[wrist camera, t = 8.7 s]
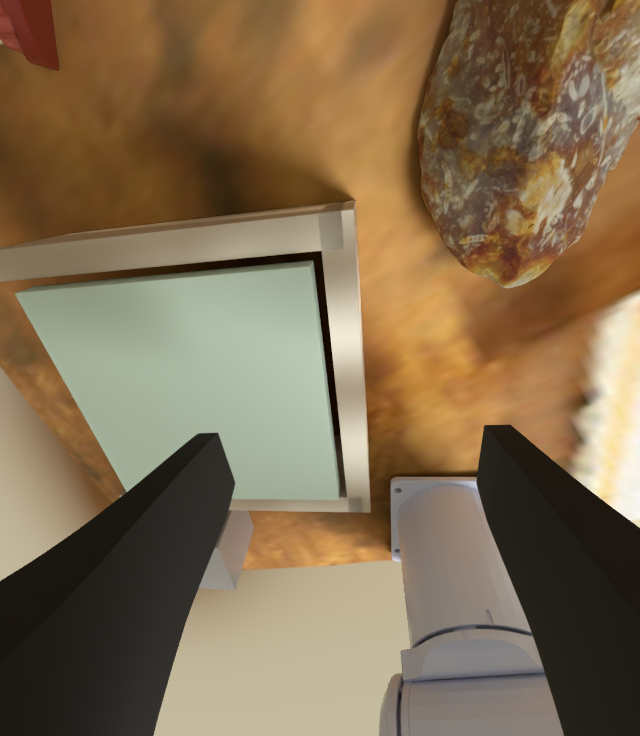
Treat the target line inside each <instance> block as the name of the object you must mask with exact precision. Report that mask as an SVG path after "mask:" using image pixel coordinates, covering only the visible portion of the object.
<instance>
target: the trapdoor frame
mask: <svg viewBox="0 0 640 736" xmlns="http://www.w3.org/2000/svg"><path fill="white" fill-rule="evenodd" d="M313 251H321V252H322V261H323V271H324V280H325V290H326V299H327V309H328V318H329V328H330V337H331V347H332V357H333V366H334V376H335V385H336V395H337V404H338V414H339V423H340V433H341V436H334V440H335V449H336V457H337V466H338V474H339V483H340V489H339V500H280V499H232V500H231V503H230V507H229V510H242V511H302V512H363V513H371V507H370V475H369V445H368V427H367V408H366V390H365V371H364V352H363V334H362V315H361V297H360V278H359V260H358V241H357V223H356V204H355V200H352V201H343V202H335V203H326V204H318V205H309V206H301V207H292V208H284V209H275V210H267V211H258V212H250V213H241V214H233V215H224V216H216V217H207V218H199V219H190V220H181V221H173V222H164V223H156V224H147V225H139V226H130V227H122V228H113V229H105V230H96V231H88V232H79V233H71V234H66V235H61V236H56V237H51V238H46V239H41V240H36V241H31V242H26V243H21V244H16V245H11V246H6V247H1V248H0V282H4V281H14V280H25V279H35V278H45V277H56V276H66V275H76V274H87V273H97V272H107V271H117V270H128V269H138V268H148V267H159V266H169V265H179V264H190V263H200V262H210V261H220V260H231V259H241V258H251V257H262V256H272V255H282V254H293V253H303V252H313ZM125 493H126V490H125V488H124V489H123V491H122V492H121V493H120V495H119V496H120V497H121V496H123V495H124V494H125Z"/></svg>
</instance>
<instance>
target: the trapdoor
mask: <svg viewBox="0 0 640 736" xmlns="http://www.w3.org/2000/svg"><path fill="white" fill-rule="evenodd" d="M14 294H15V295H16V297H17V299H18V301H19V302H20V304H21V306H22V308H23V309H24V311H25V313H26V315H27V317H28V318H29V320H30V322H31V324H32V325H33V327H34V329H35V331H36V332H37V334H38V336H39V338H40V340H41V341H42V343H43V345H44V347H45V348H46V350H47V352H48V354H49V355H50V357H51V359H52V361H53V363H54V364H55V366H56V368H57V370H58V371H59V373H60V375H61V377H62V379H63V380H64V382H65V384H66V386H67V387H68V389H69V391H70V393H71V394H72V396H73V398H74V400H75V402H76V403H77V405H78V407H79V409H80V410H81V412H82V414H83V416H84V417H85V419H86V421H87V423H88V425H89V426H90V428H91V430H92V432H93V433H94V435H95V437H96V439H97V440H98V442H99V444H100V446H101V448H102V449H103V451H104V453H105V455H106V456H107V458H108V460H109V462H110V463H111V465H112V467H113V469H114V471H115V472H116V474H117V476H118V478H119V479H120V481H121V483H122V485H123V486H124V488H125V490H126V492H128V491H129V490H130V489H131V488H133V487H134V486H135V485H136V484H138V483H139V482H140V481H141V480H142V479H144V478H145V477H146V476H147V475H148V474H150V473H151V472H152V471H153V470H154V469H156V468H157V467H158V466H159V465H160V464H161V463H163V462H164V461H165V460H166V459H167V458H169V457H170V456H171V455H172V454H173V453H174V452H176V451H177V450H178V449H179V448H180V447H182V446H183V445H184V444H185V443H187V442H188V441H189V440H190V439H191V438H193V437H194V436H195V435H197V434H198V433H218V434H219V437H220V440H221V442H222V445H223V448H224V451H225V454H226V457H227V460H228V463H229V466H230V469H231V471H232V474H233V477H234V480H235V487H234V491H233V495H232V499H280V500H339V489H340V483H339V474H338V466H337V457H336V449H335V440H334V432H333V423H332V415H331V406H330V398H329V389H328V381H327V372H326V364H325V355H324V347H323V338H322V330H321V321H320V313H319V304H318V296H317V287H316V279H315V270H314V262H313V260H311V261H300V262H289V263H278V264H268V265H257V266H246V267H236V268H225V269H214V270H203V271H193V272H182V273H171V274H161V275H150V276H139V277H128V278H118V279H107V280H96V281H85V282H75V283H64V284H53V285H43V286H34V287H31V288H28V289H26V290H23V291H20V292H17V293H14Z"/></svg>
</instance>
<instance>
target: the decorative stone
mask: <svg viewBox="0 0 640 736" xmlns="http://www.w3.org/2000/svg"><path fill="white" fill-rule="evenodd" d="M449 33H450V35H449V36H448V38H447V39H446V41H445V42H444V44H443V46H442V49H441V52H440V55H439V58H438V60H437V62H436V64H435V67H434V69H433V71H432V73H431V76H430V78H429V80H428V82H427V85H426V93H425V98H424V103H423V106H422V110H421V114H420V119H419V123H418V130H417V140H418V145H419V161H420V167H421V191H422V197H423V200H424V203H425V205H426V207H427V209H428V211H429V213H430V214H431V215H432V217H433V220H434V223H435V225H436V228H437V230H438V232H439V234H440V236H441V238H442V240H443V242H444V244H445V246H446V247H447V249H448V250H449V251H450V252H451V253H452V254H453V255H454V256H455V257H456V258H457V259H458V261H459V262H460V263H461V265H462V266H464V267H465V268H466V269H468V270H469V271H471V272H472V273H474V274H477V275H479V276H486V277H488V278H490V279H492V280H494V281H495V282H496V283H497V284H498V285H500V286H501V287H503V288H512V287H515V286H519V285H522V284H525V283H527V282H529V281H531V280H532V279H534V278H536V277H537V276H539V275H540V274H542V273H543V272H544V271H545V270H546V269H547V268H548V267H549V266H550V265H551V264H552V262H553V261H554V260H556V259H558V258H559V257H561V256H562V255H564V254H565V253H566V251H567V249H568V248H569V247H570V246H571V245H573V244H574V243H576V242H578V241H579V239H580V238H581V236H582V234H583V233H584V231H585V229H586V226H587V224H588V220H589V217H590V213H591V211H592V208H593V205H594V203H595V201H596V199H597V196H598V192H599V189H600V188H601V187H602V186H603V184H604V183H605V179H606V175H607V172H609V171H612V170H613V169H614V168H615V167H616V166H617V164H618V162H619V161H620V159H621V157H622V155H623V153H624V151H625V149H626V147H627V143H628V140H629V137H630V136H631V134H632V133H633V132H634V130H635V129H636V127H637V125H638V122H639V120H640V0H456V3H455V7H454V12H453V17H452V22H451V25H450V28H449Z"/></svg>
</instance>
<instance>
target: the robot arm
mask: <svg viewBox="0 0 640 736" xmlns="http://www.w3.org/2000/svg"><path fill="white" fill-rule="evenodd" d="M234 487H235V480H234V477H233V474H232V471H231V469H230V466H229V463H228V460H227V457H226V454H225V451H224V448H223V445H222V442H221V440H220V437H219V434H218V433H198V434H197V435H195V436H194V437H193V438H191V439H190V440H189V441H188V442H187V443H185V444H184V445H183V446H182V447H180V448H179V449H178V450H177V451H176V452H174V453H173V454H172V455H171V456H170V457H169V458H167V459H166V460H165V461H164V462H163V463H161V464H160V465H159V466H158V467H157V468H156V469H154V470H153V471H152V472H151V473H150V474H148V475H147V476H146V477H145V478H144V479H142V480H141V481H140V482H139V483H138V484H136V485H135V486H134V487H133V488H131V489H130V490H129V491H128V492H126V493H125V494H124V495H123V496H121V497H120V498H119V499H117V500H116V501H115V502H114V503H112V504H111V505H110V506H109V507H107V508H106V509H105V510H104V511H102V512H101V513H100V514H98V515H97V516H96V517H94V518H93V519H92V520H91V521H89V522H88V523H86V524H85V525H84V526H82V527H81V528H80V529H78V530H77V531H75V532H74V533H73V534H71V535H70V536H68V537H67V538H66V539H64V540H63V541H61V542H60V543H58V544H57V545H55V546H54V547H53V548H51V549H50V550H48V551H47V552H46V553H44V554H42V555H41V556H39V557H38V558H36V559H35V560H33V561H32V562H30V563H29V564H27V565H26V566H24V567H23V568H21V569H19V570H18V571H16V572H14V573H13V574H11V575H9V576H8V577H6V578H5V579H3V580H1V581H0V736H153V734H154V730H155V727H156V723H157V719H158V715H159V711H160V708H161V704H162V701H163V697H164V693H165V690H166V687H167V683H168V680H169V676H170V672H171V669H172V665H173V662H174V659H175V656H176V652H177V649H178V646H179V642H180V639H181V636H182V632H183V629H184V626H185V622H186V620H187V617H188V614H189V612H190V609H191V606H192V603H193V601H194V598H195V596H196V593H197V591H198V588H199V586H200V583H201V581H202V578H203V576H204V573H205V571H206V568H207V566H208V563H209V561H210V558H211V556H212V553H213V551H214V548H215V546H216V543H217V541H218V538H219V536H220V533H221V531H222V528H223V526H224V523H225V520H226V518H227V514H228V511H229V507H230V503H231V500H232V495H233V491H234ZM396 488H400V489H396ZM390 489H391V556H392V559H393V560H394V561H399V562H401V563H402V573H403V582H404V591H405V601H406V610H407V620H408V628H409V638H410V648H411V649H407V650H402V651H401V663H402V673H398V674H395V675H394V676H393V677H392V678H391V680H390V682H389V684H388V688H387V691H386V692H385V694H384V697H383V701H382V705H381V713H380V725H379V736H640V528H639V527H638V526H636V525H635V524H634V523H632V522H631V521H629V520H628V519H627V518H625V517H624V516H623V515H621V514H620V513H619V512H617V511H616V510H614V509H613V508H612V507H610V506H609V505H608V504H607V503H605V502H604V501H603V500H601V499H600V498H599V497H597V496H596V495H595V494H594V493H592V492H591V491H590V490H588V489H587V488H586V487H585V486H583V485H582V484H581V483H580V482H578V481H577V480H576V479H575V478H573V477H572V476H571V475H570V474H569V473H567V472H566V471H565V470H564V469H562V468H561V467H560V466H559V465H558V464H556V463H555V462H554V461H553V460H552V459H550V458H549V457H548V456H547V455H546V454H544V453H543V452H542V451H541V450H540V449H538V448H537V447H536V446H535V445H534V444H533V443H531V442H530V441H529V440H528V439H527V438H526V437H524V436H523V435H522V434H521V433H520V432H518V431H517V430H516V429H515V428H514V427H512V426H511V425H484V432H483V438H482V445H481V452H480V459H479V466H478V473H477V477H394V478H392V479H391V482H390Z"/></svg>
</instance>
